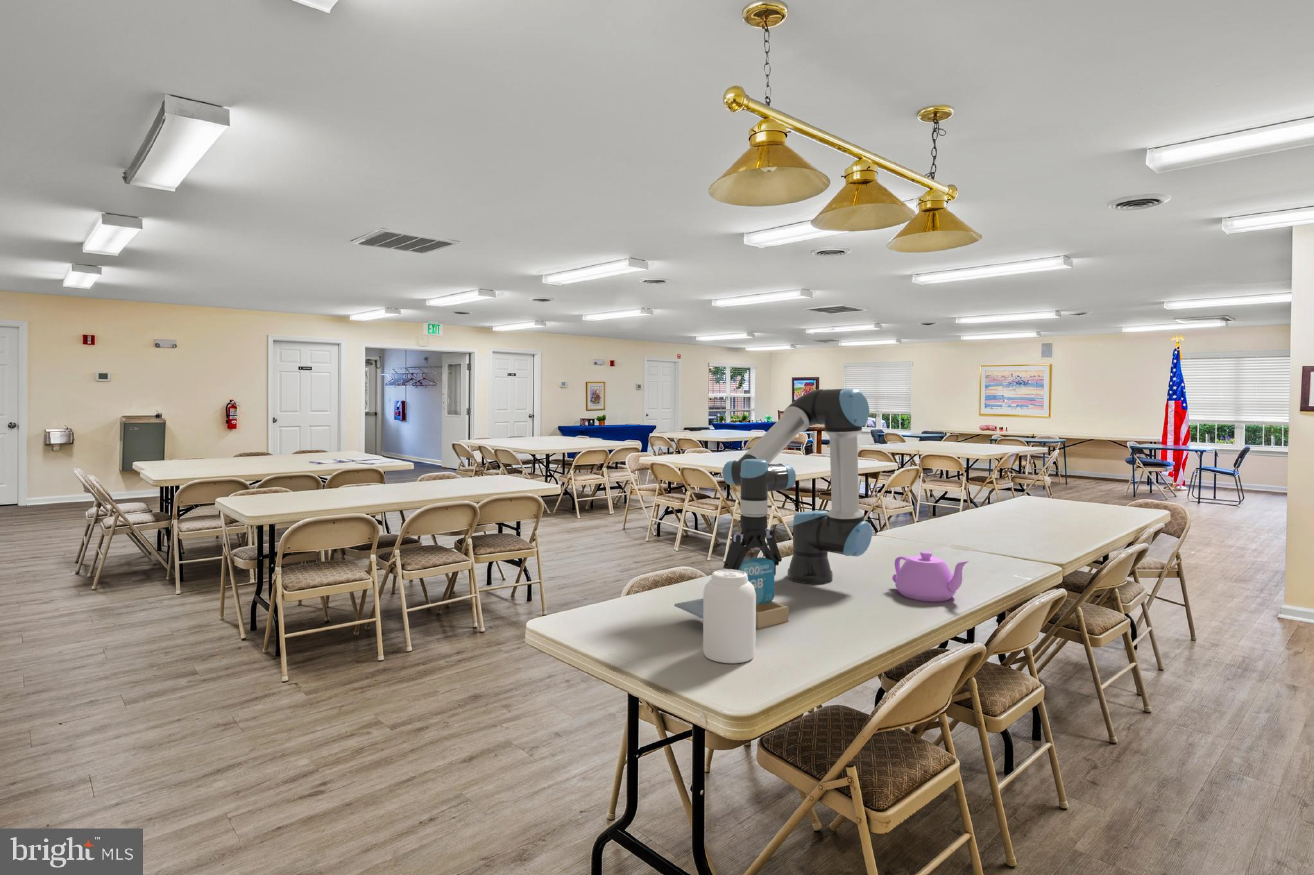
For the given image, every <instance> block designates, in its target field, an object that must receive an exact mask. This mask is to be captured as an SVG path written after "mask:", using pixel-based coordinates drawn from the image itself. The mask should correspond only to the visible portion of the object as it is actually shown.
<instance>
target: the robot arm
mask: <svg viewBox="0 0 1314 875" xmlns="http://www.w3.org/2000/svg"><path fill="white" fill-rule="evenodd" d="M869 417H870V405H869V402H868V400H867V396H865V395H864V393H863V392H862V391H860V390H858V389H856V388H854V389H853V388H831V389H829V388H827V389H823V388H822V389H819V388H817V389H814V390H810V391H809V392H807V393H804V394H802V395H801V396H799V397H798V398H797V399H795V400H794V401H792V402H791V403H790V404H789V405H788V406H787V407H786V408H785V409H784V411H783V414H782V416H781V417H780V418H779V419H778V420H777V421H776V422H775V423H774V424H773V425H772V426H771V427H769V429H768V430H767V431H766V433H764V434H763V435H762V436H761V437H760V438H759V439H758V440H757V441H756V442H755V443H754V444H753V445H752V446H751V447H750V448H749V449H748V450H747V451H746V452H745V453H744V454H743V455H742V456H741V457H740V458H739V459H738V460H736V459H735V460H729V461H727V462H726V463H725V464H724V465H723V467H722V472H721V474H722V478H723V480H724V482H725V483H726V484H728V485H730V486H735V487H740V504H739V506H740V507H739V509H740V511H739V512H740V514H741V515H740V519H739V524H740V525H739V526H740V527H739V528H740V529H741V533H740V534H739V533H738V534H737V533H736V534H735V533H732V535H731V543H730V544H729V549H728V551H727V555H726V558H725V561H724V563H723V569H733V570H738V568H739V566H740V565H741V563H742V561H743V560H745V558H746V555H747V554H748V552H750V550H751V549H755V548H757V549H760V551H761V553H762V554H763V556H764V558H766V559H769V560H772V561H773V562H774V565H775V566H774V577H775V576H776V574H777V572H776V570H777V566H779V565H780V563H781V562H782V559H783V558H782V556H781V553H780V550H779V546H778V544H777V541H776V538H775V537H776V536H775V534H776V532H775V530H772V529H767V528H768V516H767V514H768V494H769V492H775V491H784V490H787V489H790V488H793V486H794V485H795V483H796V478H797V475H796V474H797V473H796V471H795V469H794V468H793V466H791V465H790V464H787V463H772V461H774V460H775V459H776V457H778V455H779V454H780V453H781V452H782V451H783V450H784V449H785V448H786V447H787V446H788V445H789V444H790V443H792V441H793V440H794V439H795V438H796V437H797V436H798V435H799V433H800V432H805V431H806V430H807V429H809V428H810V427H813V426H817V425H822V426H824V432H825V434H827V435H828V437H829V455H830V456H829V457H830V463H829V464H830V465H829V466H830V491H831V492H830V494H831V496H830V497H831V509H830V510H829V511H827V510H809V511H800V512H796V513H795V514H794V516H793V521H792V522H793V523H792V558H791V560H790V563H789V567H788V569H787V575H786V576H787V578H788V580H790V581H793V582H796V583H801V584H811V585H815V584H817V585H821V584H827V583H831V582H832V581H833V579H834V578H833V576H834V575H833V574H834V573H833V570H832V569H831V564H830V561H829V560H830V559H829V556H828V554H829V553H832V554H838V555H844V556H845V557H860V556H862V555H864V553H865V552H866V551H867V550H868V549H869V547H870V545H871V542H872V538H873V528H872V526H871V524H870V522H868V521H866V520H865V513H864V512H863V511H862V510H861V509H860V502H859V501H860V496H859V494H860V493H859V491H860V490H859V462H858V461H859V459H858V457H859V455H858V454H859V453H858V451H859V450H858V436H859V434H861V432H863V426H865V425H866V424H867V423H868V421H869Z"/></svg>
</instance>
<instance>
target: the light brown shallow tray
mask: <svg viewBox="0 0 1314 875" xmlns="http://www.w3.org/2000/svg"><path fill="white" fill-rule="evenodd" d="M789 610H790V609H789V606H787V605H784V604H782V603H778V602H775V601H773V600H772V601H771V602H767V603H762V604H757V605H756V629H762V628H766V627H770V626H774V625H779V624H782V623H787V622H789Z"/></svg>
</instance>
